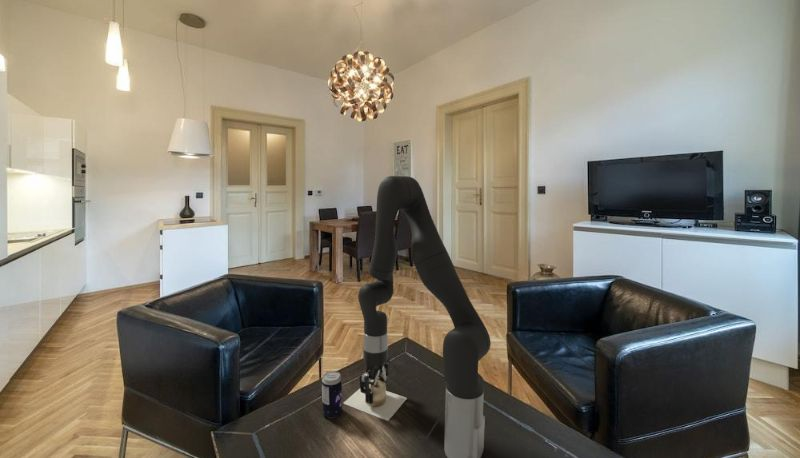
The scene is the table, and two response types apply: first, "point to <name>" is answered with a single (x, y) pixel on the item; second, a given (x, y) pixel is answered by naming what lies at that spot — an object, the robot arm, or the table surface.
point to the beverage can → (332, 394)
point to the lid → (378, 394)
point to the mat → (382, 412)
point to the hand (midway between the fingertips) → (375, 396)
